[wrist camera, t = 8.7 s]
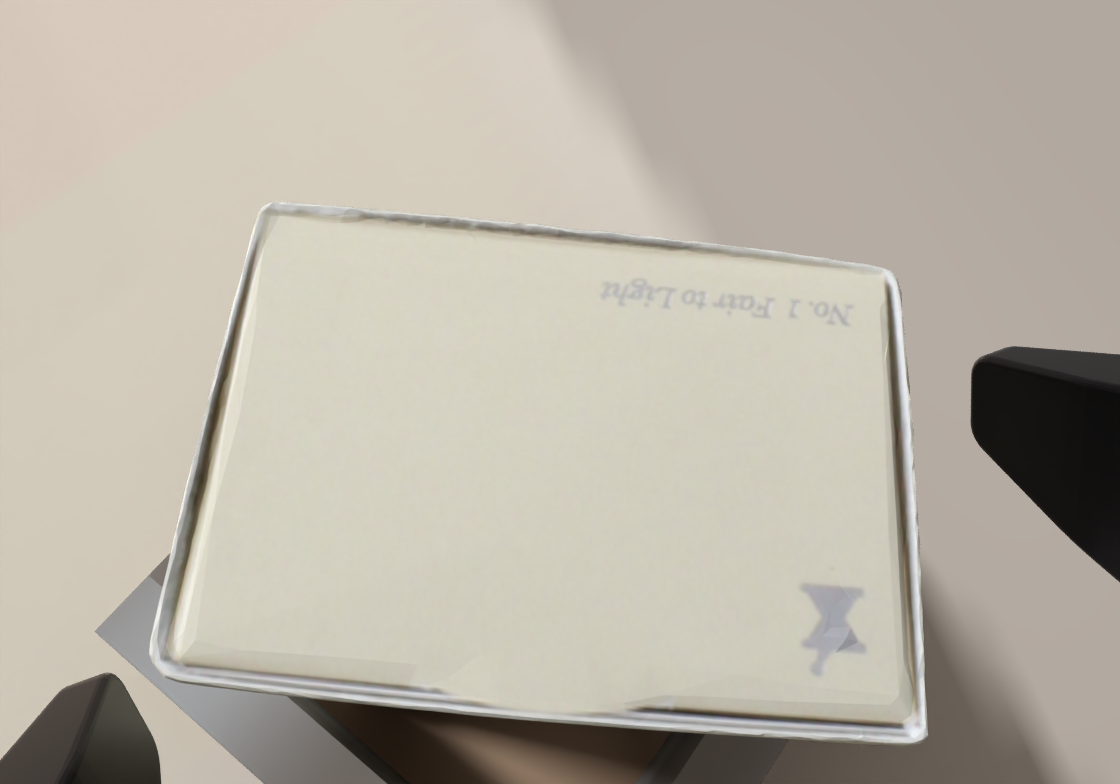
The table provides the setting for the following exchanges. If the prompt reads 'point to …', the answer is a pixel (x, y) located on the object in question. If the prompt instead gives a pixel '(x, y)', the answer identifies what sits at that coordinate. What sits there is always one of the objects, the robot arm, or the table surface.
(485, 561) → the skincare box
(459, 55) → the table surface
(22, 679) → the table surface
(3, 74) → the table surface
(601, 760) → the socket
